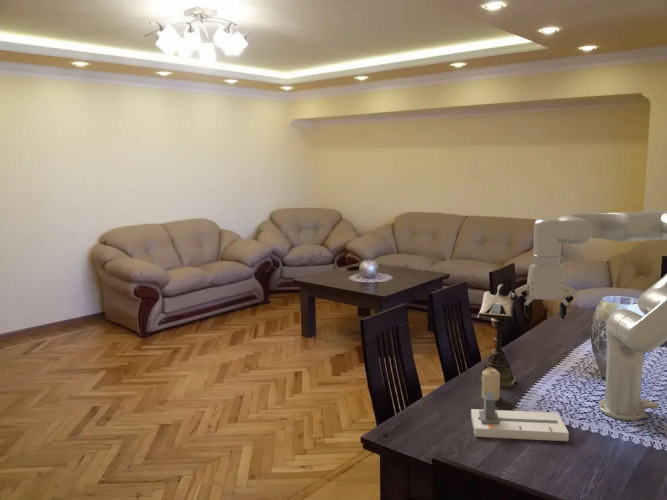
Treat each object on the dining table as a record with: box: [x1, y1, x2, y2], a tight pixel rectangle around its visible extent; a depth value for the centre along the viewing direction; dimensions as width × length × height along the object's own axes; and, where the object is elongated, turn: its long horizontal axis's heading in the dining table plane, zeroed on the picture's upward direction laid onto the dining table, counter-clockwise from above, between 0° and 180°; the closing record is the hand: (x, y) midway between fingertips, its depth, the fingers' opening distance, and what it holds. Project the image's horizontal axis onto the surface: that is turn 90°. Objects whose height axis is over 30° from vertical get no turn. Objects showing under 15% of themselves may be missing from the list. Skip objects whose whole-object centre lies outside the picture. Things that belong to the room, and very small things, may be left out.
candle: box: [481, 367, 501, 402], centre depth 176 cm, size 6×6×10 cm
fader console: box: [470, 408, 570, 442], centre depth 157 cm, size 25×12×3 cm, turn 81°
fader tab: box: [479, 392, 499, 423], centre depth 157 cm, size 5×6×7 cm
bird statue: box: [476, 283, 517, 388], centre depth 186 cm, size 17×13×35 cm
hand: (544, 317), depth 161 cm, fingers open, 9 cm apart
